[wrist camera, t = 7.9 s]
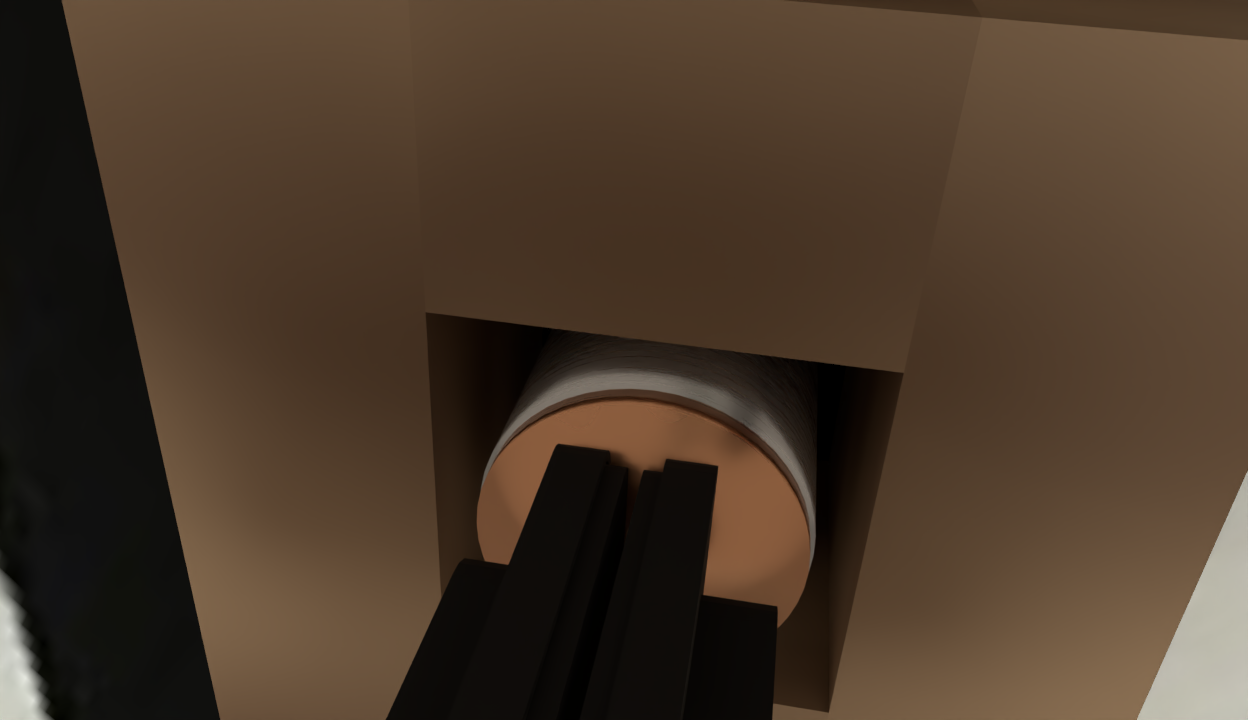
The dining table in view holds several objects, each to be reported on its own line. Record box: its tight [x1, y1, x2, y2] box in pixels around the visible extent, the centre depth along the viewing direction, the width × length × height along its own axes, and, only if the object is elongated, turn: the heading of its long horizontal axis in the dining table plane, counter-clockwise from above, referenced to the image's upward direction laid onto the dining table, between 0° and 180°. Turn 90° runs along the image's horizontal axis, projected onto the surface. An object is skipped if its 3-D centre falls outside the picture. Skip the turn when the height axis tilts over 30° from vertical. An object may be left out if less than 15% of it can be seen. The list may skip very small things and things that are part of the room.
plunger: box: [477, 328, 818, 628], centre depth 13 cm, size 4×4×5 cm
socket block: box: [62, 0, 1248, 720], centre depth 15 cm, size 20×11×5 cm, turn 177°
